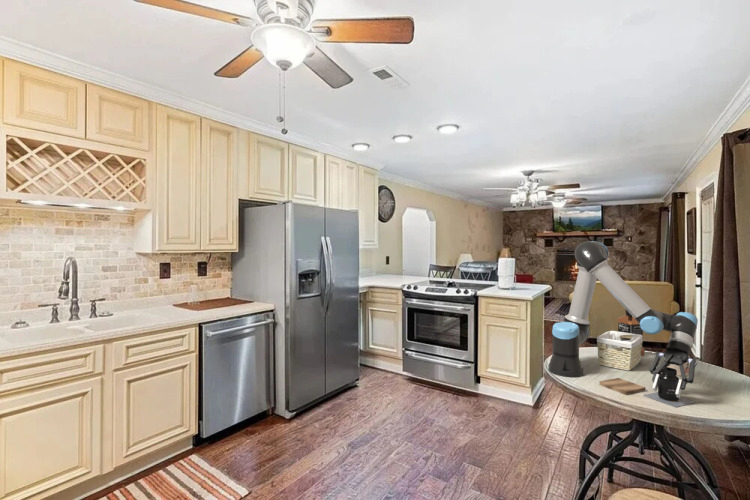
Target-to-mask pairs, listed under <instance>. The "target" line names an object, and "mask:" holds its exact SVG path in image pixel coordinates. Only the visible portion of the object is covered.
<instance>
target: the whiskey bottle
mask: <svg viewBox="0 0 750 500" xmlns="http://www.w3.org/2000/svg"><path fill="white" fill-rule="evenodd" d="M617 323H618V327H617V328H618V329H617V332H625V333H632V334H639V335H642V336H643V338H642V339H643V340H644V331H643V330H642V329H641V327H640V324H639V323H638V322H637V321H636V319H635V318H634V317H633V316H632V315H631V314H630V313H629V312H628V311H627V310H626V309H625V315H623V316H620V317H618V318H617ZM620 340H621V341H627V340H630V339H627V338H622V337H620ZM644 356H645V348H644V341H643V342H642V346H641V355H640V357H644Z"/></svg>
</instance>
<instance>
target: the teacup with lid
mask: <svg viewBox="0 0 750 500" xmlns="http://www.w3.org/2000/svg"><path fill="white" fill-rule="evenodd" d="M689 358H690V359H691V357H690V356H689ZM683 366H684V371H685V375H686V377H688V376H689V366H690V364H689V361H688V362H686V363H684V364H683ZM668 367H669V368H673V369H676V370H677V375H676V376H677V377H682V376H681V372H680V368H679V366H677V365H675V364H670V365H669V366H668Z"/></svg>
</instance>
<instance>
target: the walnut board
mask: <svg viewBox="0 0 750 500" xmlns="http://www.w3.org/2000/svg"><path fill="white" fill-rule="evenodd" d="M599 386H601V387H604V388H607V389H610V390H612V391H615V392H617V393H620V394H622V395H624V396H628V395H633V394H636V393H641V392H642V393H643V392H645V391H646V386H643V385H640V384H638V383H635V382H631V381H628V380H626V379H623V378H619V377H616V378H611V379H605V380H600V381H599Z"/></svg>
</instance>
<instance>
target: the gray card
mask: <svg viewBox="0 0 750 500" xmlns="http://www.w3.org/2000/svg"><path fill="white" fill-rule="evenodd" d="M643 397H646V398H648V399H652V400H655V401H657V402H660V403H663V404H665V405H668V406H671V407H673V408H681V407H683V406H688V405H691V404H695V403H696V401H693V400H690V399H688V398H685V397H681V396H680V397H679V400H678V401H668V400H664V399H662V398H660V397H659V396H658V391H654V392H650V393H646V394H643Z"/></svg>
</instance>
